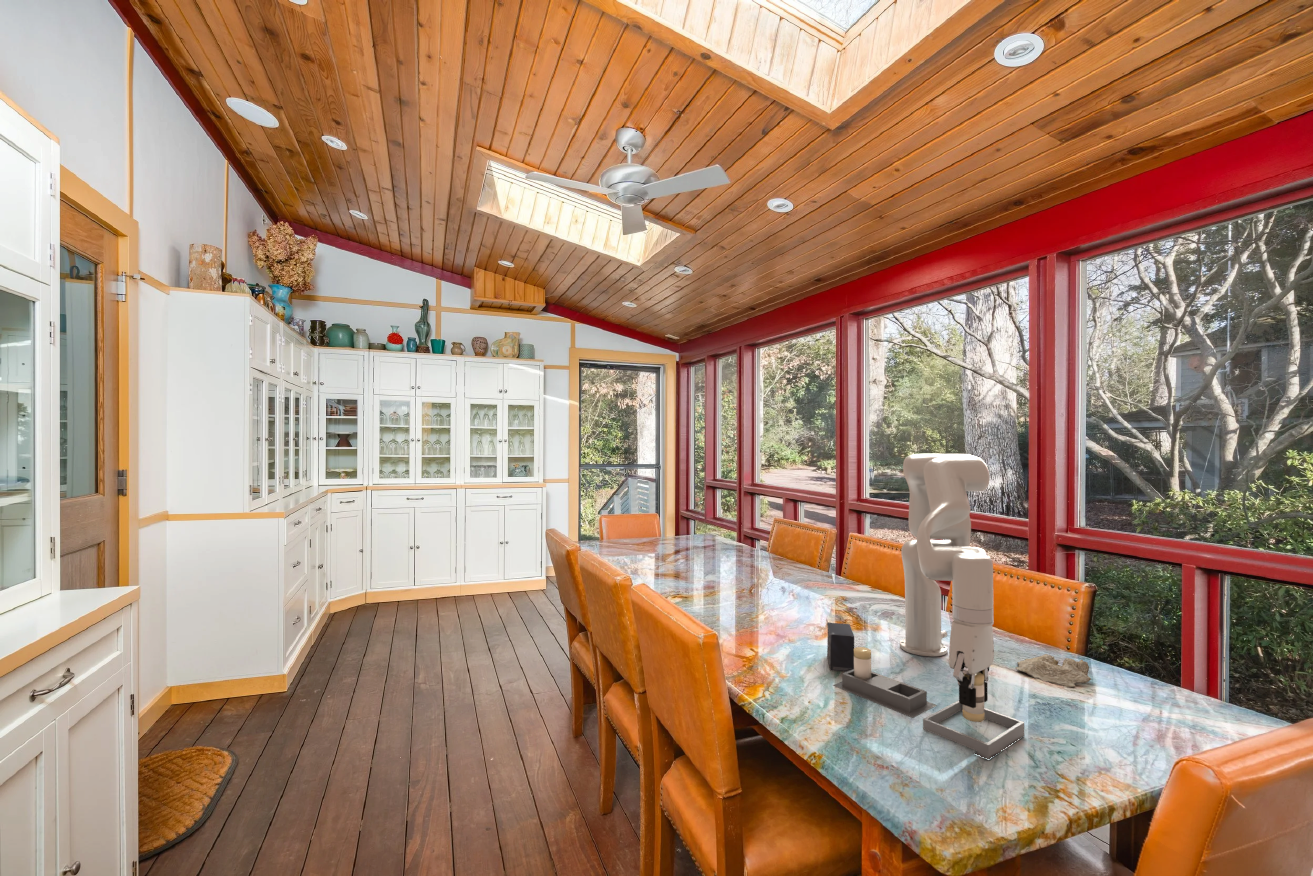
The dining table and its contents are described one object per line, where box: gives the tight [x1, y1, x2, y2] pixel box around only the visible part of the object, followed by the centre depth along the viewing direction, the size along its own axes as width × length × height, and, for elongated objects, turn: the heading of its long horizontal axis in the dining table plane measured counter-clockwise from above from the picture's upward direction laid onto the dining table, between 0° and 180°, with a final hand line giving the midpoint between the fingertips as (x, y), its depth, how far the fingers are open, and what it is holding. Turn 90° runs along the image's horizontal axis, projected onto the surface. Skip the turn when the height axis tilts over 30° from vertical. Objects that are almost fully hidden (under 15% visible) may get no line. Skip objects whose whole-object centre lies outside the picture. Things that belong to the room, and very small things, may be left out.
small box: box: [826, 621, 855, 672], centre depth 160 cm, size 11×6×10 cm, turn 168°
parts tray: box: [922, 699, 1025, 759], centre depth 124 cm, size 15×13×3 cm
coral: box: [1015, 653, 1092, 689], centre depth 155 cm, size 18×16×5 cm
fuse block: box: [832, 669, 938, 719], centre depth 141 cm, size 10×21×4 cm, turn 36°
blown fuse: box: [962, 669, 985, 723], centre depth 124 cm, size 4×4×9 cm
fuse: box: [854, 646, 872, 681], centre depth 145 cm, size 4×4×9 cm
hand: (973, 701), depth 124 cm, fingers closed on blown fuse, 4 cm apart
